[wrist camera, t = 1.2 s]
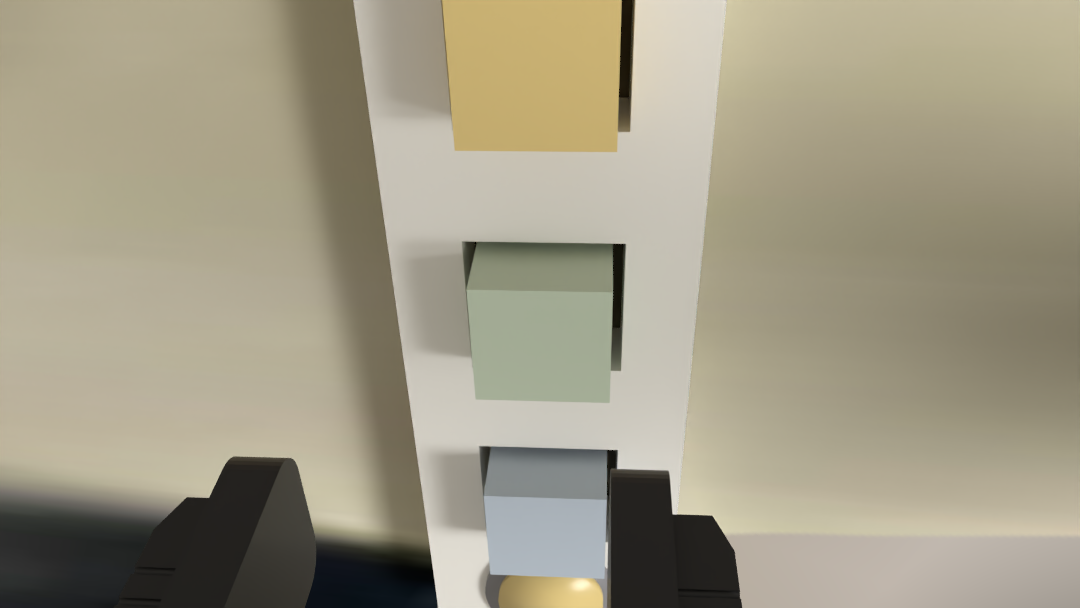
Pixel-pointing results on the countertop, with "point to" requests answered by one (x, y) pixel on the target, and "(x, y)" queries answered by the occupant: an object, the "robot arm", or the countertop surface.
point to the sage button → (541, 321)
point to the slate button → (546, 511)
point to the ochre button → (534, 74)
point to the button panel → (544, 217)
